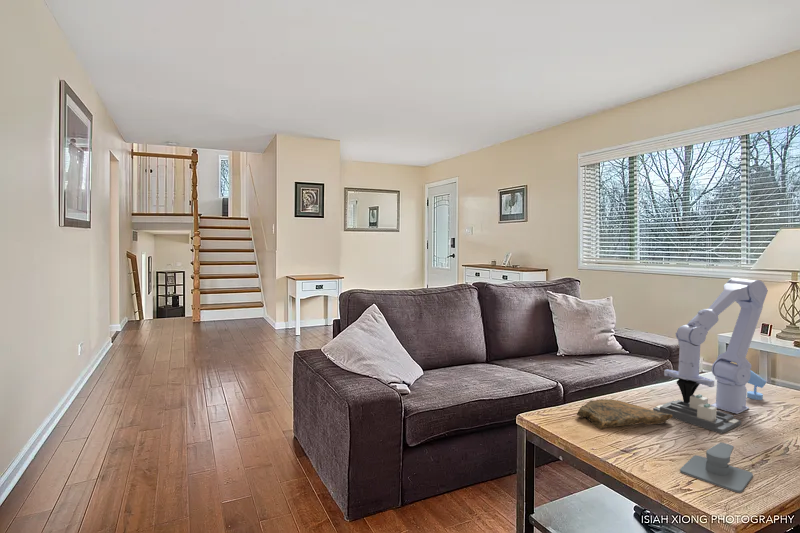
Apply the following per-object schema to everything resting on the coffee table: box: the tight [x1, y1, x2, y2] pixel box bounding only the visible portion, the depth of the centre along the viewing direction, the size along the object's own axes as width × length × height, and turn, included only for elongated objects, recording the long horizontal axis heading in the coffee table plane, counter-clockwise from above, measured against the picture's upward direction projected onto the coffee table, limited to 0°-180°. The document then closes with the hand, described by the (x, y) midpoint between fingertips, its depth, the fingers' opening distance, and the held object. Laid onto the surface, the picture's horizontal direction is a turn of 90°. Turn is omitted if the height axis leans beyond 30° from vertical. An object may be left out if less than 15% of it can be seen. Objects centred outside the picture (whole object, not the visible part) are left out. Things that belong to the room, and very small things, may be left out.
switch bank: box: [652, 399, 742, 434], centre depth 145 cm, size 13×20×2 cm, turn 33°
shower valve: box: [679, 441, 754, 494], centre depth 111 cm, size 12×6×15 cm
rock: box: [576, 398, 673, 430], centre depth 142 cm, size 25×6×20 cm
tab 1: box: [690, 394, 709, 409], centre depth 147 cm, size 3×4×5 cm
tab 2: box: [697, 402, 718, 422], centre depth 139 cm, size 3×4×5 cm
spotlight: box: [746, 370, 767, 401], centre depth 164 cm, size 5×10×7 cm
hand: (687, 402), depth 150 cm, fingers closed
